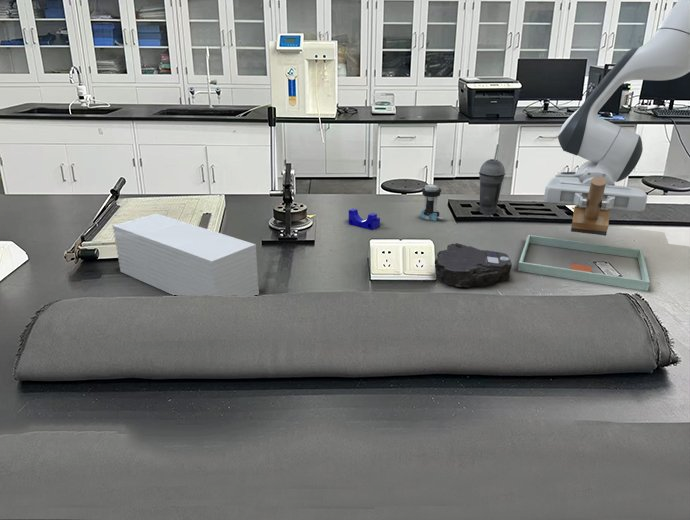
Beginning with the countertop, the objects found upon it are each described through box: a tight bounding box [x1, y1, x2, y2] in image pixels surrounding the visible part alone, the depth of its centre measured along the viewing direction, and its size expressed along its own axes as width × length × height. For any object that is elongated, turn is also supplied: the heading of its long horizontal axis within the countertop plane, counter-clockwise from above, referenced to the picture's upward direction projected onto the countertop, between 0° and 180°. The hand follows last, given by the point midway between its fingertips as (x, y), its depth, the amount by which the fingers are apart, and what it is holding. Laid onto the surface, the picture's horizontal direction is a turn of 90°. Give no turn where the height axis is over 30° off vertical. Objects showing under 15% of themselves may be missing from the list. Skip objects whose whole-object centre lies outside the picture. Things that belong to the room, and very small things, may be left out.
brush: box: [570, 176, 611, 237], centre depth 111 cm, size 7×5×13 cm
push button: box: [420, 183, 444, 222], centre depth 147 cm, size 7×5×10 cm
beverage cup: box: [478, 143, 506, 215], centre depth 153 cm, size 7×7×20 cm
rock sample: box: [434, 242, 513, 289], centre depth 114 cm, size 18×16×5 cm
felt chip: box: [570, 263, 593, 273], centre depth 114 cm, size 4×4×1 cm
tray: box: [517, 234, 651, 292], centre depth 119 cm, size 25×19×3 cm
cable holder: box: [348, 208, 381, 231], centre depth 145 cm, size 8×4×4 cm, turn 53°
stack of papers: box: [112, 212, 260, 296], centre depth 109 cm, size 32×11×11 cm, turn 53°
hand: (593, 205), depth 110 cm, fingers closed on brush, 3 cm apart
